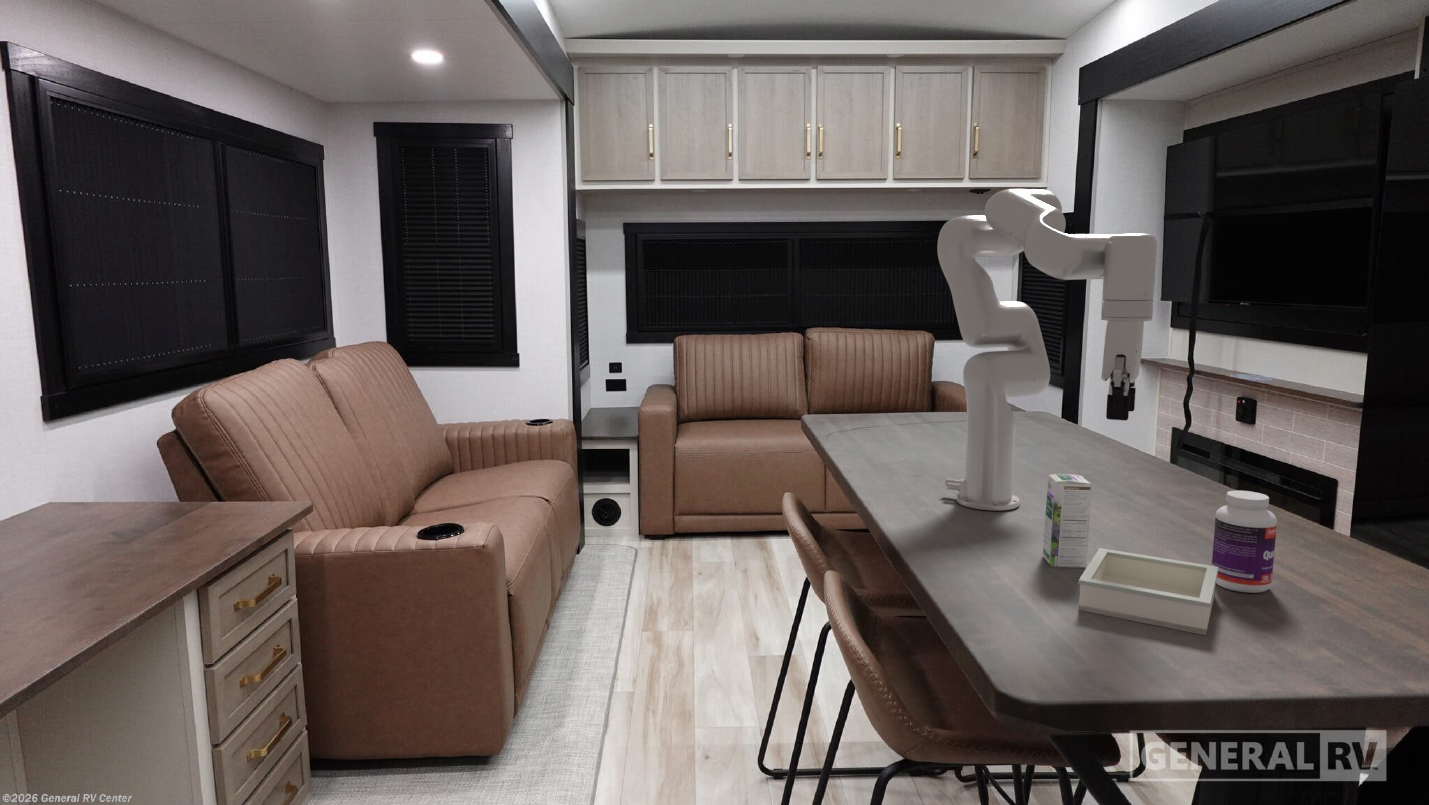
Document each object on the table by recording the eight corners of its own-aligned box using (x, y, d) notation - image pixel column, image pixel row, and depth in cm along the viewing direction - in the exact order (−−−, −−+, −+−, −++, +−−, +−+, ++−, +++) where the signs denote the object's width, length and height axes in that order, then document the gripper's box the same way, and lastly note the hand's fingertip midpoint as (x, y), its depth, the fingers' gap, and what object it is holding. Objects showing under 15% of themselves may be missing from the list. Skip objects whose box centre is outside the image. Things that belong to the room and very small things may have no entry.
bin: (1076, 610, 124) (1078, 580, 123) (1097, 575, 137) (1099, 547, 137) (1207, 636, 115) (1210, 603, 114) (1216, 596, 128) (1218, 566, 128)
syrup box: (1041, 556, 147) (1045, 473, 144) (1077, 556, 146) (1082, 473, 144) (1050, 567, 141) (1055, 481, 139) (1088, 568, 140) (1093, 482, 138)
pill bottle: (1271, 599, 127) (1280, 505, 125) (1208, 589, 131) (1216, 497, 129) (1270, 582, 134) (1279, 492, 131) (1211, 572, 138) (1218, 485, 136)
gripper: (1108, 308, 149) (1102, 405, 151) (1094, 313, 134) (1088, 421, 137) (1156, 308, 145) (1150, 409, 147) (1148, 314, 130) (1140, 425, 133)
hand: (1120, 414), depth 142 cm, fingers open, 9 cm apart
